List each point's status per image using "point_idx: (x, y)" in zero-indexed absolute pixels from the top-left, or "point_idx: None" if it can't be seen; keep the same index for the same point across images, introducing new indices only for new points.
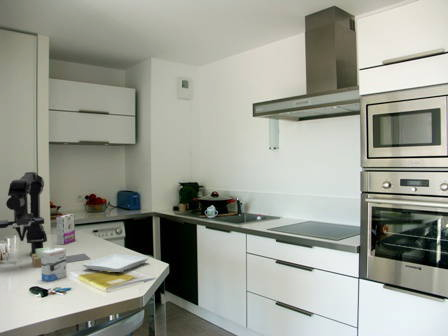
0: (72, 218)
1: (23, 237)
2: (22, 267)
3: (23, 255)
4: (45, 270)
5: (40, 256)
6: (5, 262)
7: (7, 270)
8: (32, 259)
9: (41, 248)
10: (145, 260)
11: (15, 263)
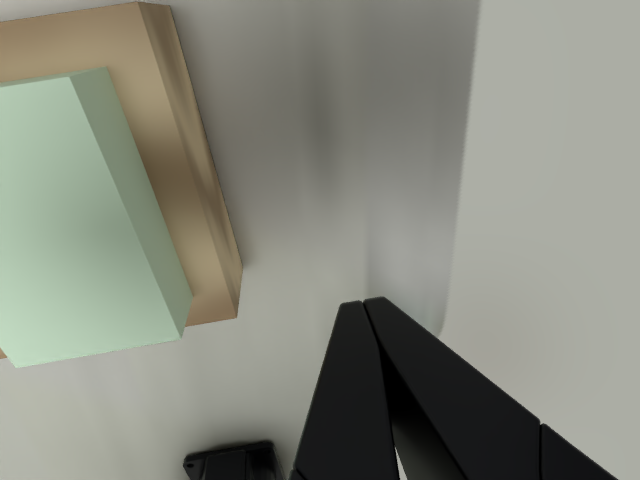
0: None
1: (341, 359)
2: (312, 110)
3: None
4: None
5: (66, 72)
6: None
7: (448, 56)
8: (230, 252)
9: (103, 337)
10: None
11: (372, 288)
